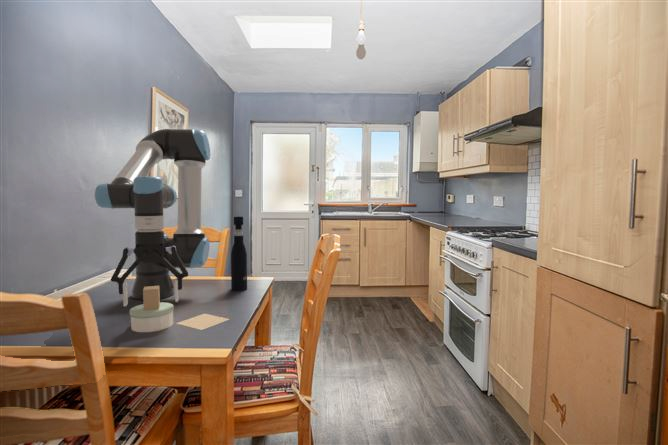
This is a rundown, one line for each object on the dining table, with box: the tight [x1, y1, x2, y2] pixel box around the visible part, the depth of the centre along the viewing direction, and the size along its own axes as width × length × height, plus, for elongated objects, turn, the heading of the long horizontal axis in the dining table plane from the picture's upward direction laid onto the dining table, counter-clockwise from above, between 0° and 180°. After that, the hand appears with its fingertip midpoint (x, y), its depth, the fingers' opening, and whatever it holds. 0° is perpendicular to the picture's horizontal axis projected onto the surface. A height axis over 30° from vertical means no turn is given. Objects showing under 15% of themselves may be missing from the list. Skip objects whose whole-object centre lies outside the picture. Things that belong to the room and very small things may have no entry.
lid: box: [129, 286, 175, 318], centre depth 114 cm, size 12×12×7 cm
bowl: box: [130, 311, 174, 333], centre depth 114 cm, size 11×11×5 cm
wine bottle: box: [230, 216, 248, 292], centre depth 160 cm, size 6×6×30 cm
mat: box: [175, 313, 230, 331], centre depth 118 cm, size 11×11×1 cm
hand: (151, 302), depth 114 cm, fingers open, 13 cm apart
